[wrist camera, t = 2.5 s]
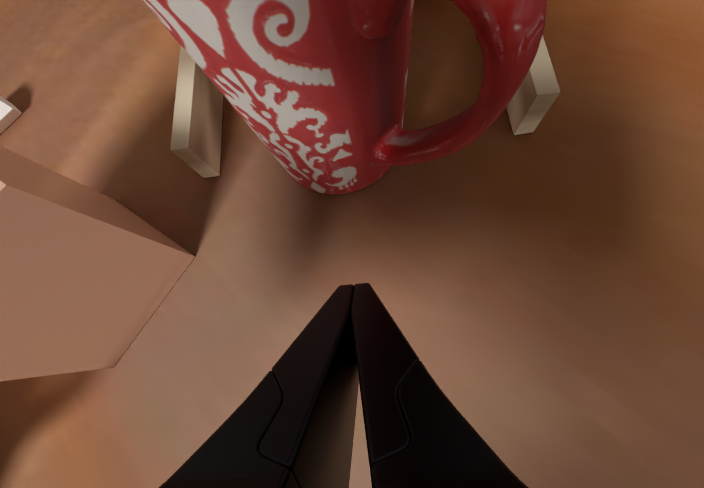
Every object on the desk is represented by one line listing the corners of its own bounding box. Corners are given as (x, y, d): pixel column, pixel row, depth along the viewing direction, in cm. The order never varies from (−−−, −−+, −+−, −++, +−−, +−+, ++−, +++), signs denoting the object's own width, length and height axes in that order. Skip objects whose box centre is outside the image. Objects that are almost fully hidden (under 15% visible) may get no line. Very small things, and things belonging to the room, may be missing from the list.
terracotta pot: (113, 367, 17) (-190, 404, 8) (36, 296, 18) (-280, 265, 10) (195, 256, 18) (5, 185, 9) (115, 200, 19) (-107, 95, 11)
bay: (532, 132, 17) (560, 92, 14) (203, 178, 19) (170, 150, 16) (487, -32, 21) (502, -91, 18) (214, 21, 23) (187, -24, 20)
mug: (235, 149, 19) (-86, -216, 6) (336, 53, 20) (235, -430, 7) (387, 289, 16) (355, 100, 3) (502, 165, 17) (857, -389, 4)
